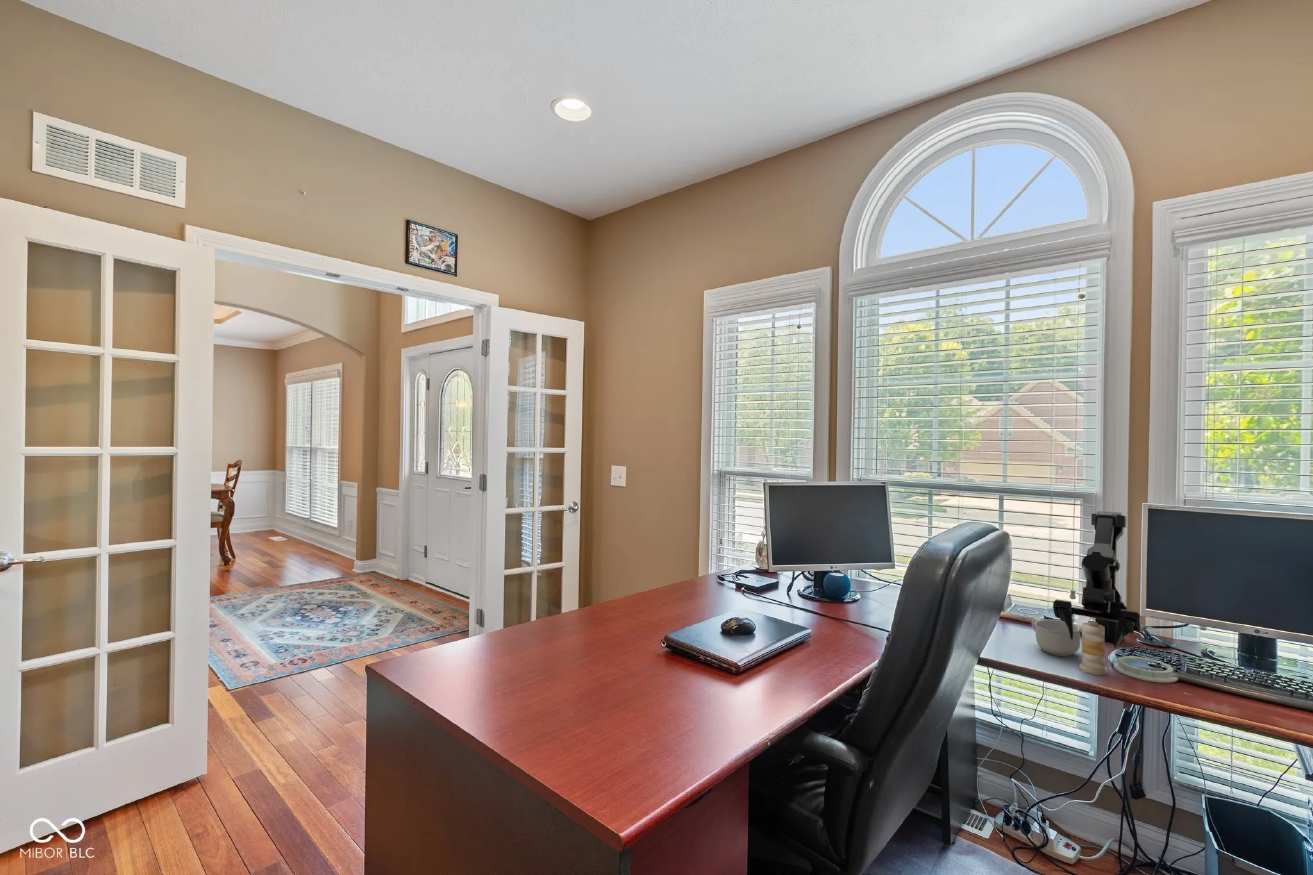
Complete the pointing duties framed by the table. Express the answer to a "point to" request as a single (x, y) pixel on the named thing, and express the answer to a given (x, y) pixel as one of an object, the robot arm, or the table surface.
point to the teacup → (1056, 637)
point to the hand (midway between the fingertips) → (1092, 642)
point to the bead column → (1093, 649)
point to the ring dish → (1145, 671)
